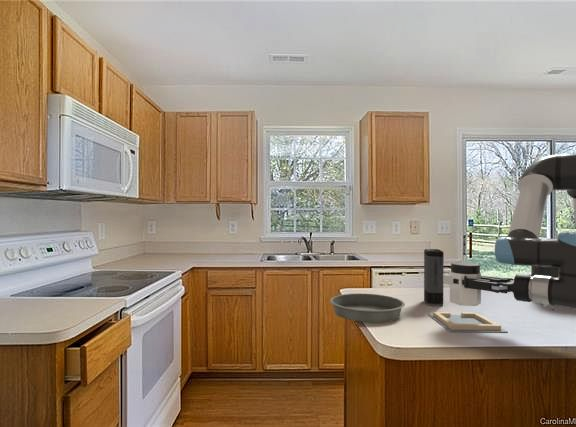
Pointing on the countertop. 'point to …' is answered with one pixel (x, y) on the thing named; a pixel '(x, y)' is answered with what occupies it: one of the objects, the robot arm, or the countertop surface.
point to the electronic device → (433, 277)
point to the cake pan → (367, 307)
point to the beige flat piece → (467, 322)
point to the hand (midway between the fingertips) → (447, 278)
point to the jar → (457, 290)
